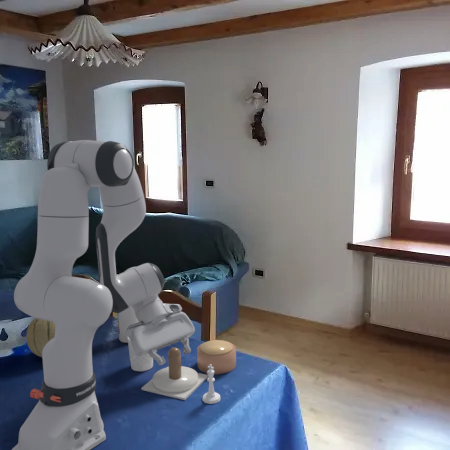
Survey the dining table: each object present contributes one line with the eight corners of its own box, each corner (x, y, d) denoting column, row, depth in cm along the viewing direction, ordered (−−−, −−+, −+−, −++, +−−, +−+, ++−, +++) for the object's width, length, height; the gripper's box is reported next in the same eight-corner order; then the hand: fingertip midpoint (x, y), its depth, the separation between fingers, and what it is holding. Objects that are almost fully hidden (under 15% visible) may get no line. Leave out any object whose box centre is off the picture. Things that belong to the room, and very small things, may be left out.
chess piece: (214, 405, 127) (213, 370, 126) (198, 400, 130) (197, 366, 128) (224, 397, 131) (223, 362, 130) (208, 392, 134) (208, 358, 132)
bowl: (226, 377, 142) (226, 358, 141) (190, 369, 147) (190, 351, 146) (242, 360, 153) (241, 342, 152) (208, 353, 158) (207, 336, 157)
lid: (183, 396, 131) (182, 361, 129) (143, 387, 136) (142, 353, 134) (205, 375, 142) (204, 342, 141) (167, 367, 148) (166, 335, 146)
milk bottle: (145, 337, 172) (143, 283, 169) (130, 345, 166) (127, 289, 162) (129, 333, 176) (126, 280, 173) (114, 340, 170) (111, 286, 166)
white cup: (149, 373, 146) (148, 342, 144) (125, 371, 147) (123, 340, 145) (158, 361, 153) (157, 332, 151) (135, 360, 155) (133, 330, 153)
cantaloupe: (46, 370, 149) (42, 324, 146) (18, 359, 157) (14, 315, 154) (84, 352, 161) (81, 309, 158) (56, 342, 169) (53, 301, 166)
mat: (184, 400, 130) (184, 398, 130) (141, 389, 136) (141, 387, 136) (208, 376, 143) (208, 375, 143) (167, 368, 149) (167, 366, 148)
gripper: (127, 321, 133) (150, 365, 128) (184, 303, 148) (206, 342, 143) (119, 332, 137) (141, 375, 132) (175, 313, 152) (197, 351, 147)
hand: (175, 358), depth 138 cm, fingers open, 8 cm apart
